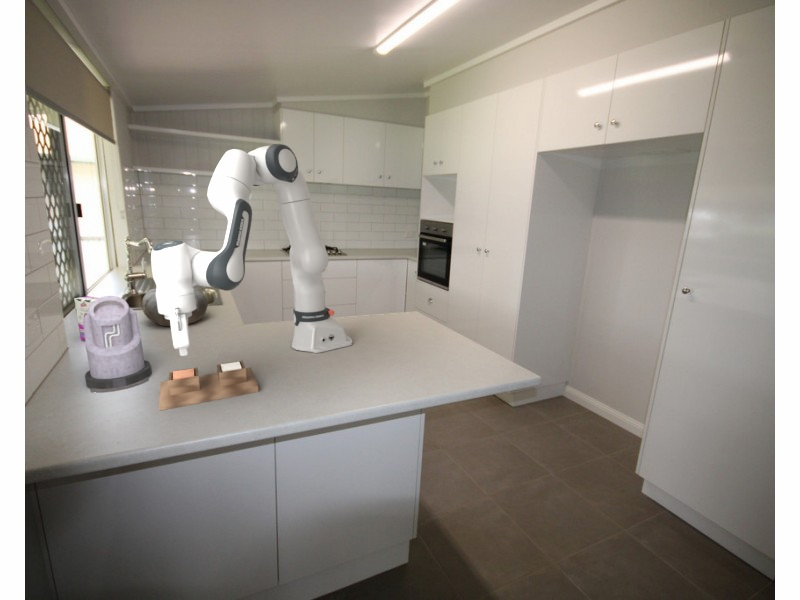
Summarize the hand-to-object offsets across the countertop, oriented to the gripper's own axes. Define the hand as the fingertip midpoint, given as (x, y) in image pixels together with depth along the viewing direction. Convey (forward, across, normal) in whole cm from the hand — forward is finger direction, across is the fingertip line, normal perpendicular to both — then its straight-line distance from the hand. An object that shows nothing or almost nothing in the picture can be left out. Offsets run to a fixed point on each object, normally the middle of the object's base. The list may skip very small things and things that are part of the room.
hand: (183, 353), depth 107 cm
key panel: (+12, 0, -5) cm, 13 cm away
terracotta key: (+9, 0, +1) cm, 9 cm away
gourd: (+12, +78, +2) cm, 79 cm away
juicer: (+12, +26, +18) cm, 34 cm away
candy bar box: (+11, +64, +29) cm, 71 cm away
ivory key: (+9, 0, -11) cm, 14 cm away
